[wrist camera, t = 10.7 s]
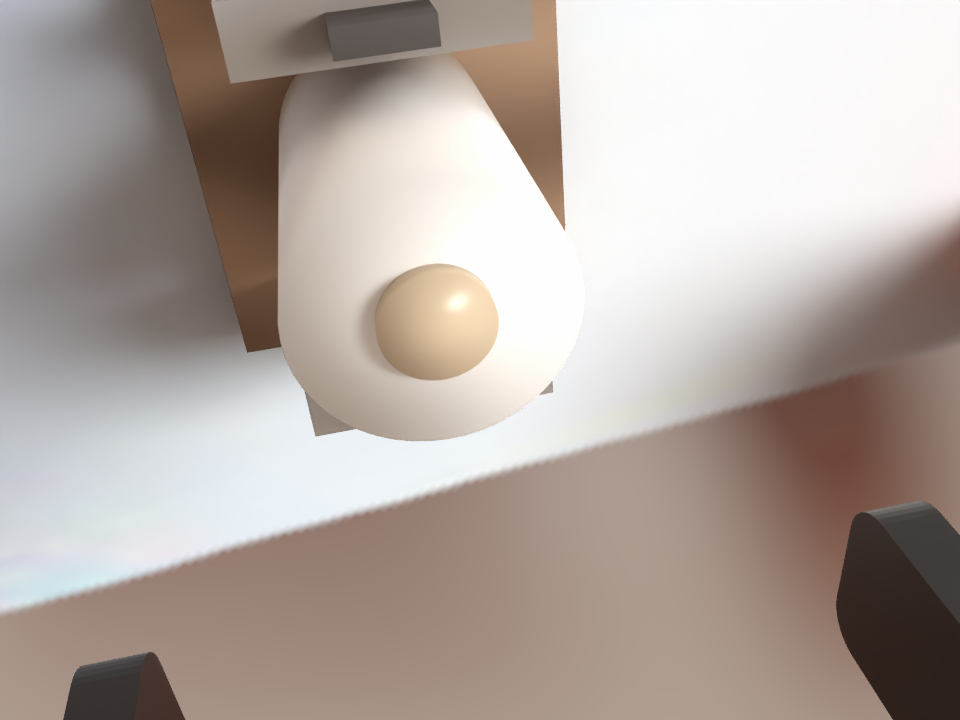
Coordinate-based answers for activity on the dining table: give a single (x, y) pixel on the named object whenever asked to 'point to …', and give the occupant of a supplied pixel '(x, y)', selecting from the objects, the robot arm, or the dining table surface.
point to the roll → (416, 253)
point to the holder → (322, 46)
